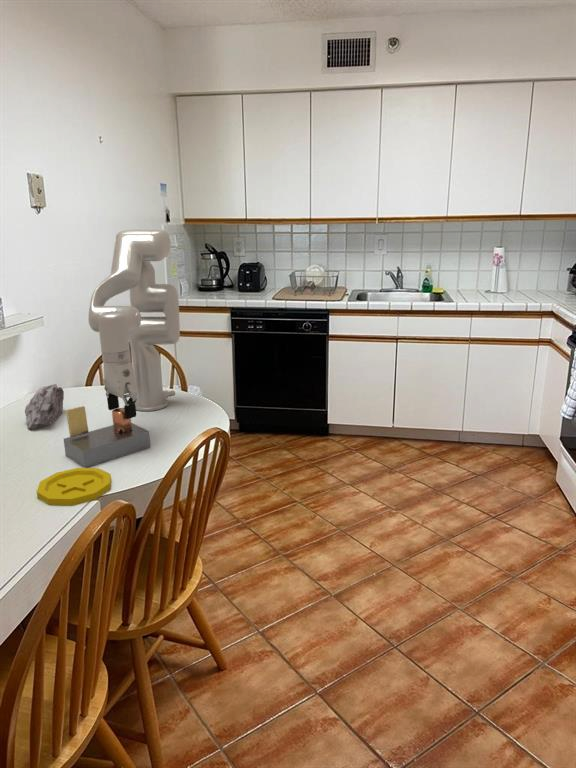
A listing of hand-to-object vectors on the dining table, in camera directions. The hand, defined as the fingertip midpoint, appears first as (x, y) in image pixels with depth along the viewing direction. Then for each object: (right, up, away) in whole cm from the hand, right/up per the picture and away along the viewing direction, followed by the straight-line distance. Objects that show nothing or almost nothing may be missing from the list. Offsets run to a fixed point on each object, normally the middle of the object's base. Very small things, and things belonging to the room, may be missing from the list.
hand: (122, 413), depth 164 cm
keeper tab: (-11, -2, -5) cm, 12 cm away
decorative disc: (-5, -18, -23) cm, 30 cm away
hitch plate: (-4, -11, -1) cm, 11 cm away
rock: (-32, -4, +24) cm, 41 cm away
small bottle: (0, -9, +2) cm, 9 cm away
